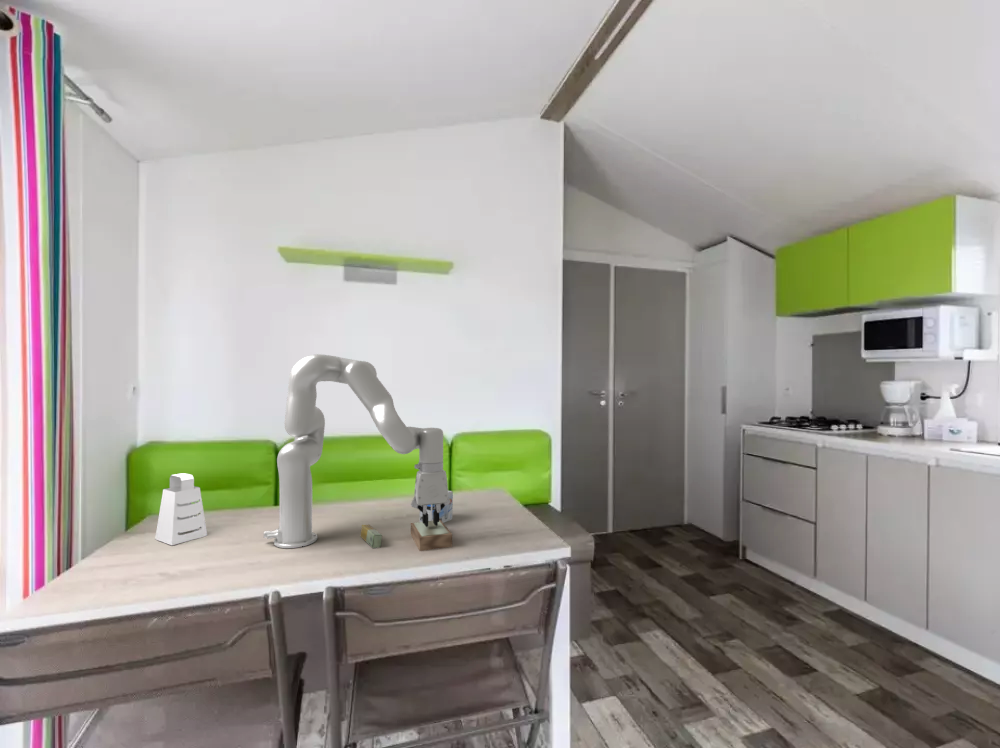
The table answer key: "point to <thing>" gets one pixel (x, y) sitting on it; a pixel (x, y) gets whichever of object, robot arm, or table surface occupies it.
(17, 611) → the table surface
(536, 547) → the table surface
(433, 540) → the mirror with brown frame
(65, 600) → the table surface
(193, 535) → the grater
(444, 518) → the light bulb box
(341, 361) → the robot arm
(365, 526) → the medication box
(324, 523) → the table surface
